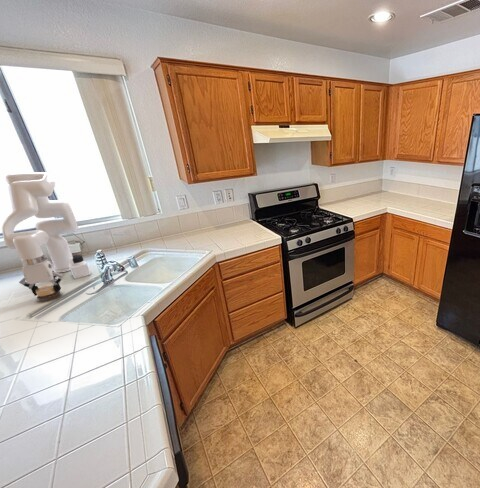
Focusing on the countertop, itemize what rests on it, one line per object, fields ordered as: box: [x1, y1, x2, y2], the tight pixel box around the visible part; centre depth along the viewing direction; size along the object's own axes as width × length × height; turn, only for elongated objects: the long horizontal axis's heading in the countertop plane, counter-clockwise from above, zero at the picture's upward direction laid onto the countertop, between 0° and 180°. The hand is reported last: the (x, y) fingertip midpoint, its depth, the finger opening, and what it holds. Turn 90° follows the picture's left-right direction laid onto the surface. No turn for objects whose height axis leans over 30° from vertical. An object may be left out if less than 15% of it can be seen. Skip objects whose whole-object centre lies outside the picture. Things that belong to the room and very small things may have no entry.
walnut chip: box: [36, 290, 62, 303], centre depth 132 cm, size 8×8×2 cm
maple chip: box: [35, 283, 55, 297], centre depth 131 cm, size 7×7×3 cm
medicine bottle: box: [68, 254, 91, 280], centre depth 153 cm, size 7×7×12 cm
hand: (47, 292), depth 131 cm, fingers closed on maple chip, 7 cm apart
